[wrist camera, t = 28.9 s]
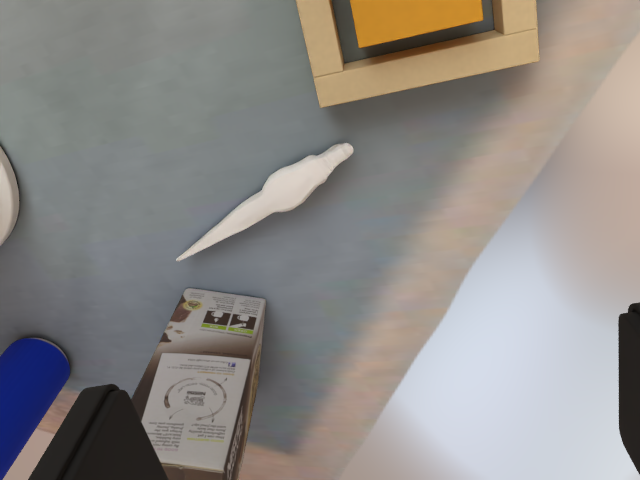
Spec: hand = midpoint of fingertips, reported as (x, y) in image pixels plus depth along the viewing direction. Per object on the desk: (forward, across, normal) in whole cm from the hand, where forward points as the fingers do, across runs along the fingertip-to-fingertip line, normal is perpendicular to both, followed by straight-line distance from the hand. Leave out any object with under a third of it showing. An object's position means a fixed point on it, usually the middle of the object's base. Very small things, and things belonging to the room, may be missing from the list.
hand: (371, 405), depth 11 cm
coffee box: (+28, +14, +17) cm, 36 cm away
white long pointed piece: (+28, +8, +6) cm, 30 cm away
